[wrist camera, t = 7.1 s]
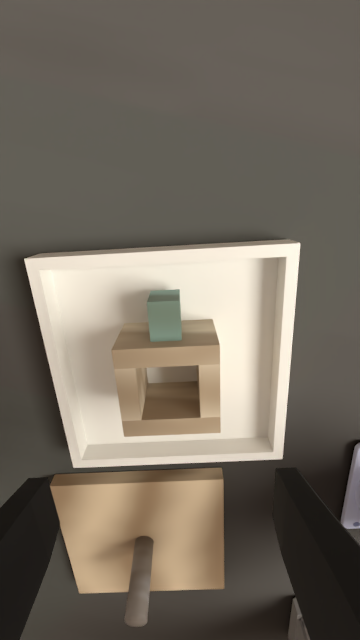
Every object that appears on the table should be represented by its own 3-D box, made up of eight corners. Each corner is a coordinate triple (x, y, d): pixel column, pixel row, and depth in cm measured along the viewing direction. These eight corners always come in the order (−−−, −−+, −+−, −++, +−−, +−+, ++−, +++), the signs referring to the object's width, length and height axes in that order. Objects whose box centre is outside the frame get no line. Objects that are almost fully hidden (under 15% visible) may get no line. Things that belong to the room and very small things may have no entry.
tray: (287, 239, 16) (300, 243, 14) (274, 438, 20) (282, 459, 19) (40, 253, 16) (24, 258, 14) (82, 446, 21) (73, 467, 19)
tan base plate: (221, 467, 21) (234, 551, 16) (222, 574, 26) (233, 669, 20) (54, 474, 22) (14, 559, 16) (83, 579, 26) (58, 674, 21)
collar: (213, 394, 19) (220, 432, 15) (133, 397, 19) (124, 437, 16) (212, 284, 16) (219, 303, 13) (119, 289, 16) (104, 309, 13)
